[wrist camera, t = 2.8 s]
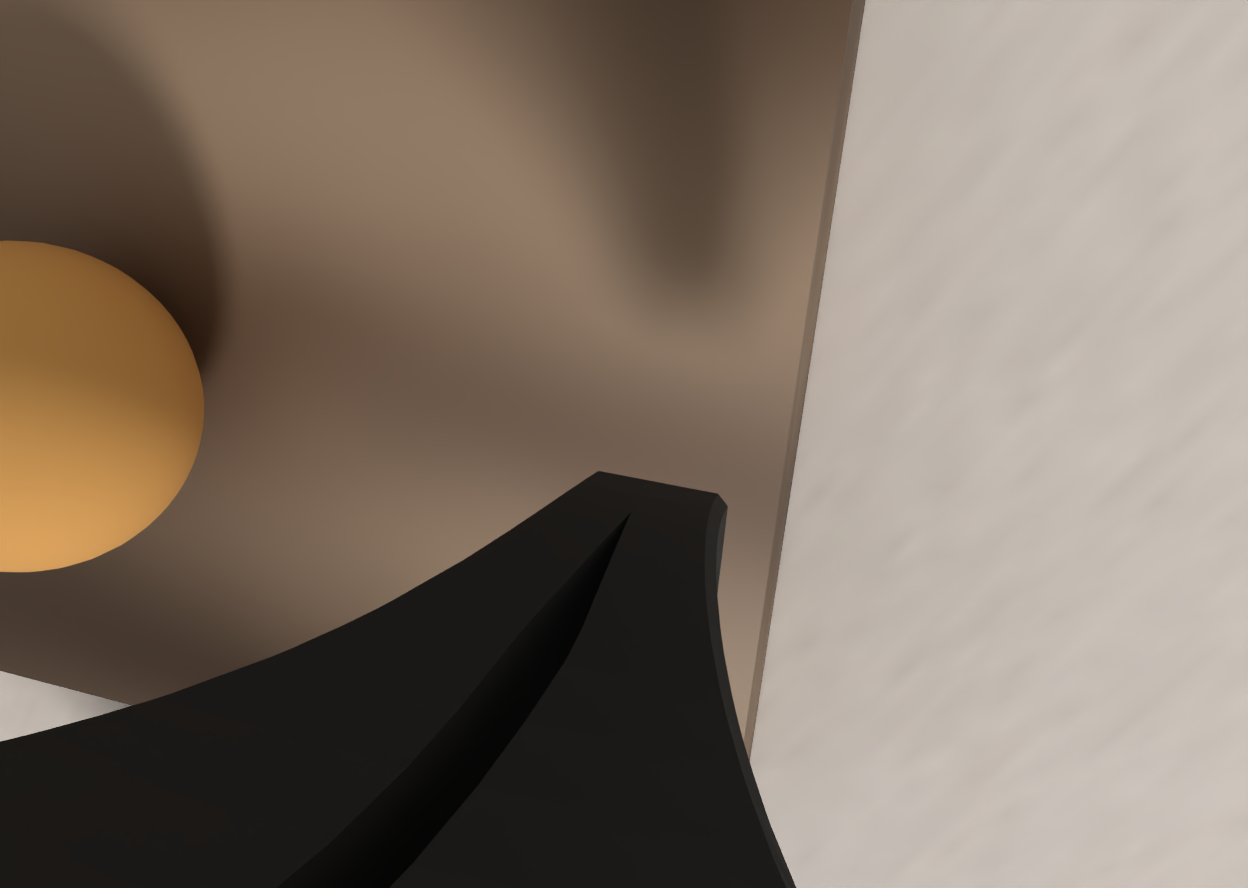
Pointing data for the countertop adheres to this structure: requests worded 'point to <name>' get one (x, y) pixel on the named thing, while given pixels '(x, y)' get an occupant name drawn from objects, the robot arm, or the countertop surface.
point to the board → (426, 289)
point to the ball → (87, 407)
